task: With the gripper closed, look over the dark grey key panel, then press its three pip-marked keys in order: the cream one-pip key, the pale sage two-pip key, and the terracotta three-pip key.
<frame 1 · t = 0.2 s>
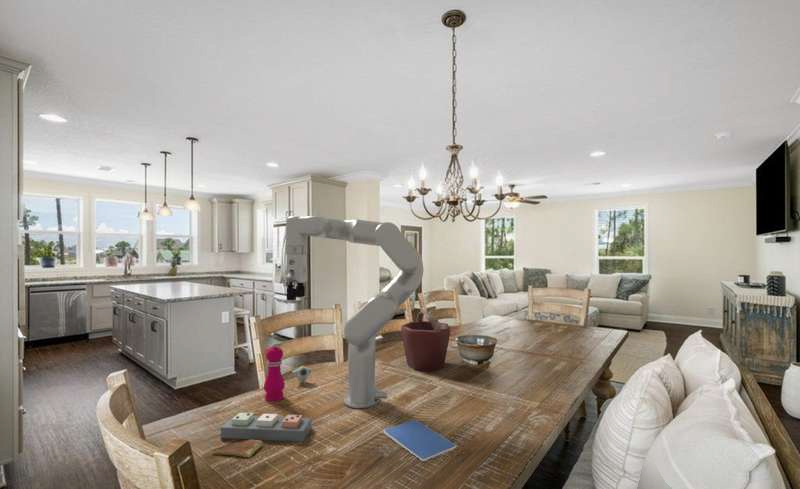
hand: (296, 298, 135), 36 cm above the table, tool pointing down, fingers open, 9 cm apart
key panel: (267, 432, 111), on the table
key one pip: (267, 420, 111), point 4 cm above the table, slide at 0.0 cm
bucket: (424, 366, 175), on the table
key three pips: (292, 421, 110), point 4 cm above the table, slide at 0.0 cm
pig figurine: (302, 383, 152), on the table
shard: (239, 455, 100), on the table
tablet computer: (418, 442, 107), on the table
key two pips: (242, 419, 111), point 4 cm above the table, slide at 0.0 cm
pepper mill: (274, 398, 136), on the table
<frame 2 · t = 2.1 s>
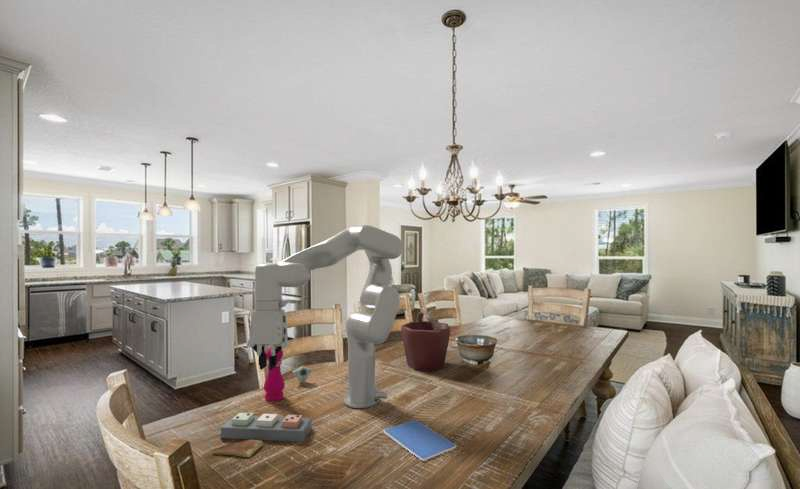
hand: (267, 367, 111), 19 cm above the table, tool pointing down, fingers closed
nothing on the table moved.
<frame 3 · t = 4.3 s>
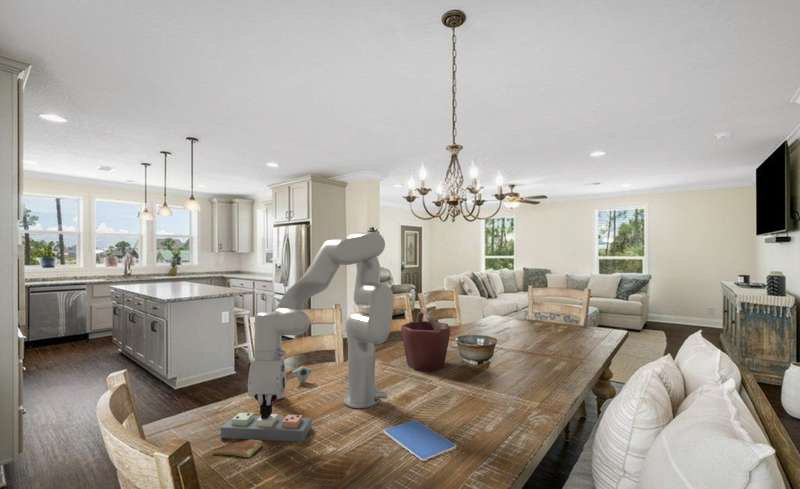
hand: (265, 416, 110), 5 cm above the table, tool pointing down, fingers closed
key one pip: (267, 420, 111), point 4 cm above the table, slide at 0.0 cm, touching gripper
everything else where it was.
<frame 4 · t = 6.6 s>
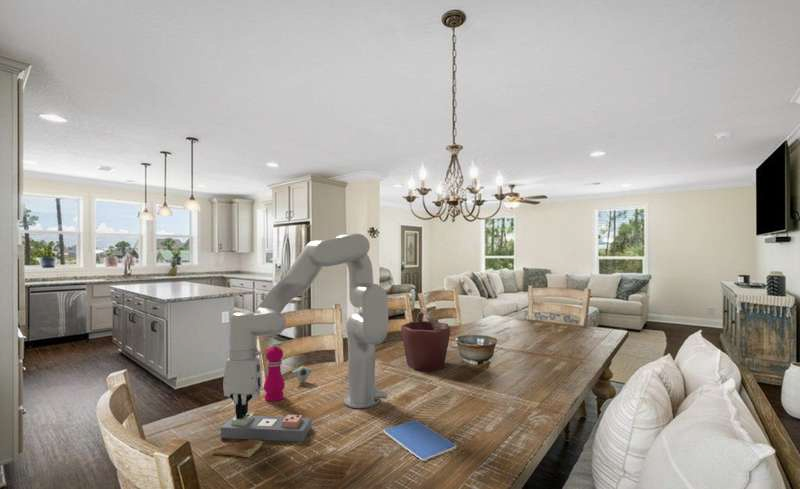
hand: (241, 416, 111), 5 cm above the table, tool pointing down, fingers closed
key one pip: (267, 425, 111), point 2 cm above the table, slide at 1.5 cm
key two pips: (242, 419, 111), point 4 cm above the table, slide at 0.2 cm, touching gripper
everything else where it was.
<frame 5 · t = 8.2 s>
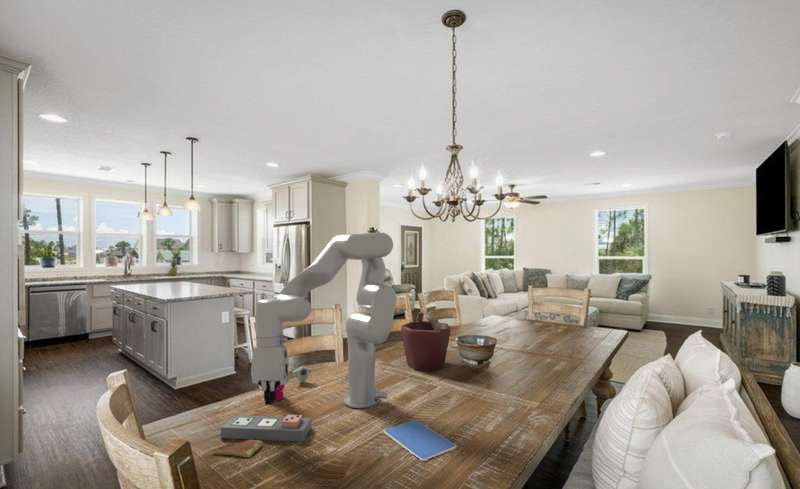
hand: (270, 403, 111), 9 cm above the table, tool pointing down, fingers closed
key two pips: (242, 424, 111), point 2 cm above the table, slide at 1.5 cm
everything else where it was.
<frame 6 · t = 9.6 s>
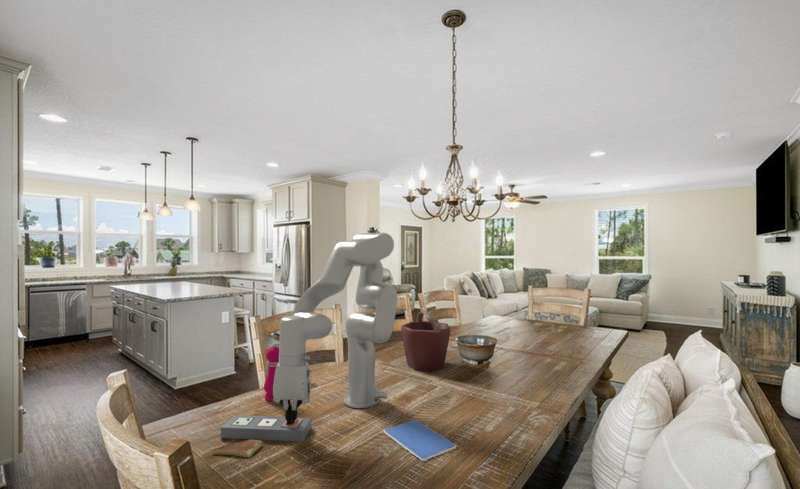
hand: (291, 422, 110), 4 cm above the table, tool pointing down, fingers closed
key three pips: (292, 425, 110), point 2 cm above the table, slide at 1.3 cm, touching gripper
everything else where it was.
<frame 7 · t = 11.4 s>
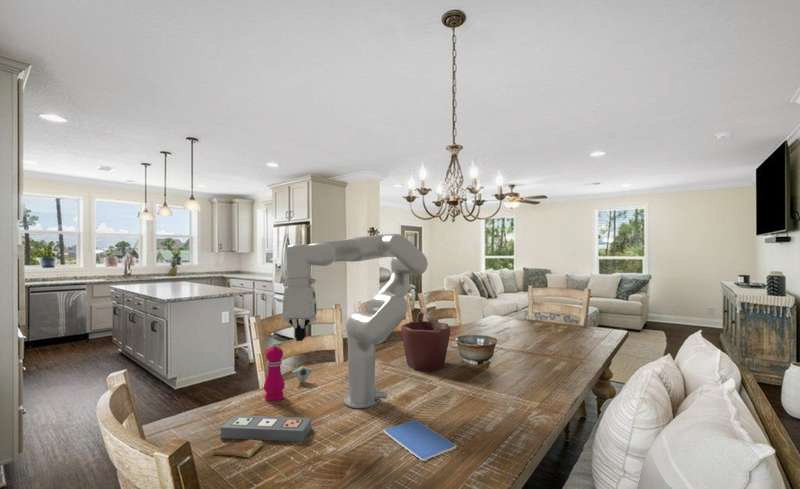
hand: (300, 339, 120), 25 cm above the table, tool pointing down, fingers closed
key three pips: (292, 426, 110), point 2 cm above the table, slide at 1.5 cm
everything else where it was.
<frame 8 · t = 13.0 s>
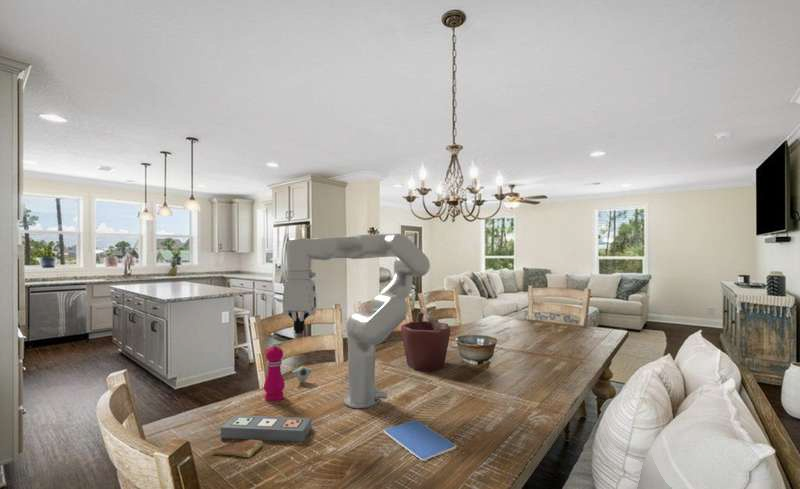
hand: (299, 332, 121), 27 cm above the table, tool pointing down, fingers closed
nothing on the table moved.
at the end: key one pip slide at 1.5 cm; key two pips slide at 1.5 cm; key three pips slide at 1.5 cm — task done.
